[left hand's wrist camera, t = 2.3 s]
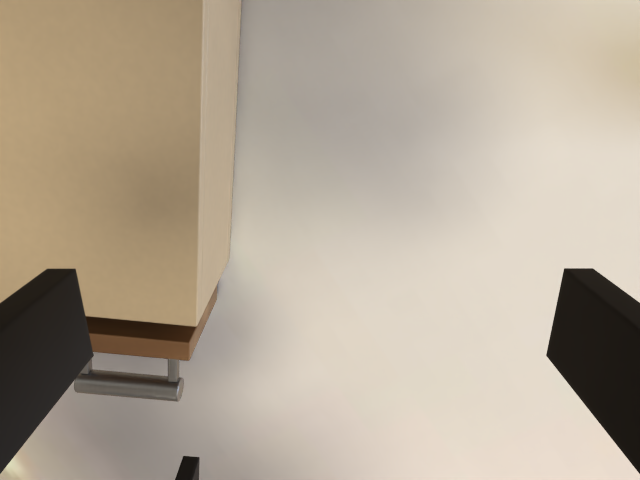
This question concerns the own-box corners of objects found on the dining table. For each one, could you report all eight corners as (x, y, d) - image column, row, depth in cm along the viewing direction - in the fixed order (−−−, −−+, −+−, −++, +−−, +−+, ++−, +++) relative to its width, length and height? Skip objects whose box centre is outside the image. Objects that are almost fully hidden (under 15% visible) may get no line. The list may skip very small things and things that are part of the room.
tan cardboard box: (229, 259, 32) (197, 327, 24) (69, 243, 32) (-23, 306, 23) (242, -15, 26) (205, -57, 18) (46, -40, 26) (-89, -95, 17)
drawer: (214, 371, 34) (187, 445, 28) (80, 359, 34) (20, 431, 27) (226, 56, 27) (194, 51, 20) (54, 35, 26) (-39, 22, 20)
